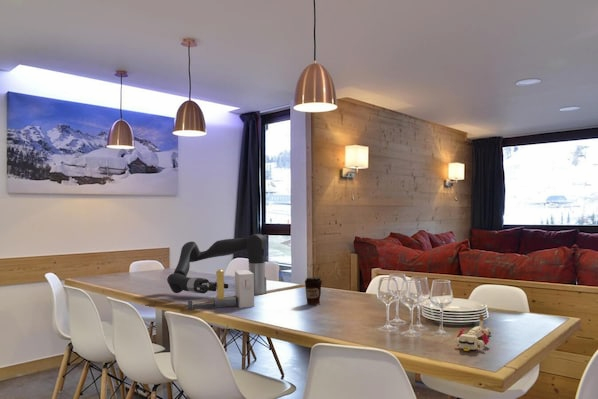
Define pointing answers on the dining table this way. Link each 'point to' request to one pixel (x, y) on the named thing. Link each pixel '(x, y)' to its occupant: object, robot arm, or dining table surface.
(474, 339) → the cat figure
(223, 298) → the gold sphere topped award
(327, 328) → the dining table surface
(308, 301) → the coffee cup
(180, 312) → the dining table surface
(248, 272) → the cabinet
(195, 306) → the rail
